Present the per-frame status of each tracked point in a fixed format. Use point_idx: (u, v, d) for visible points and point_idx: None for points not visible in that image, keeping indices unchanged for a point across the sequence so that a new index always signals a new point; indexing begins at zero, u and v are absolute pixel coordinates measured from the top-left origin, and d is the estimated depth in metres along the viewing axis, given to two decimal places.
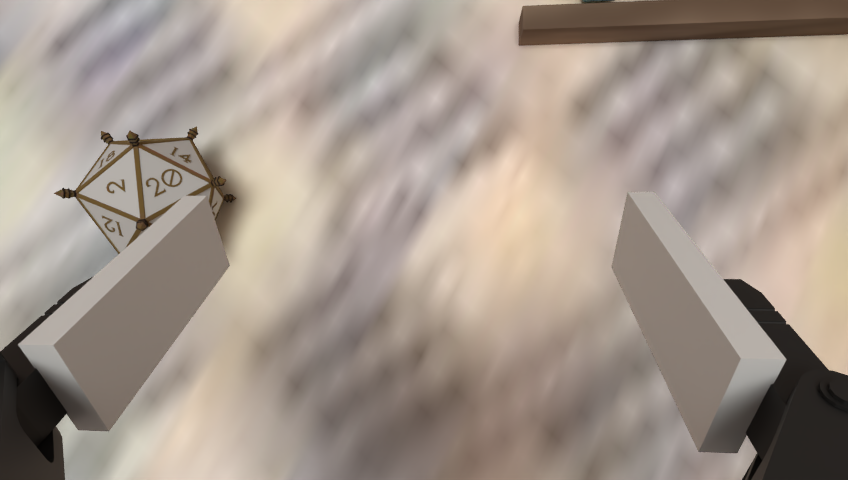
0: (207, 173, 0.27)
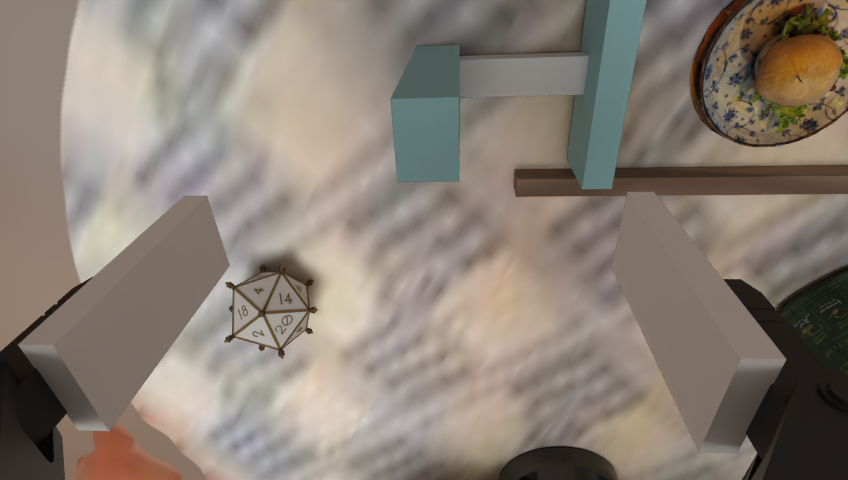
0: (303, 303, 0.41)
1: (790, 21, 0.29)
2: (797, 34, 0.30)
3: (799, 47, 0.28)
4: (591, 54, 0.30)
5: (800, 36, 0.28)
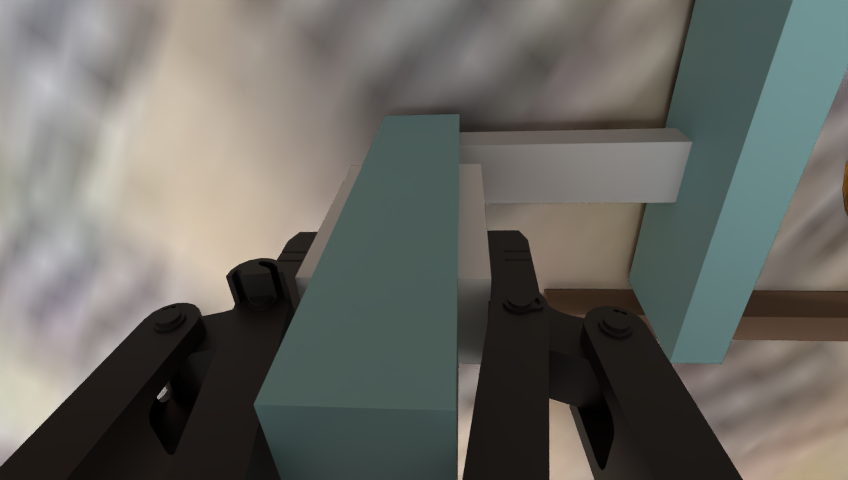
0: None
1: None
2: None
3: None
4: (701, 141, 0.16)
5: None
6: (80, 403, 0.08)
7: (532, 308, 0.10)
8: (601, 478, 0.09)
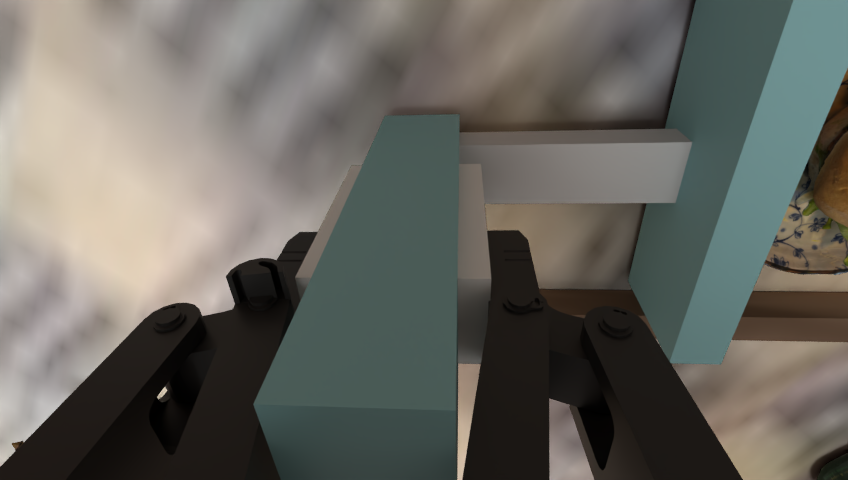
0: None
1: None
2: None
3: None
4: (701, 142, 0.16)
5: None
6: (80, 403, 0.08)
7: (532, 308, 0.10)
8: (601, 478, 0.09)
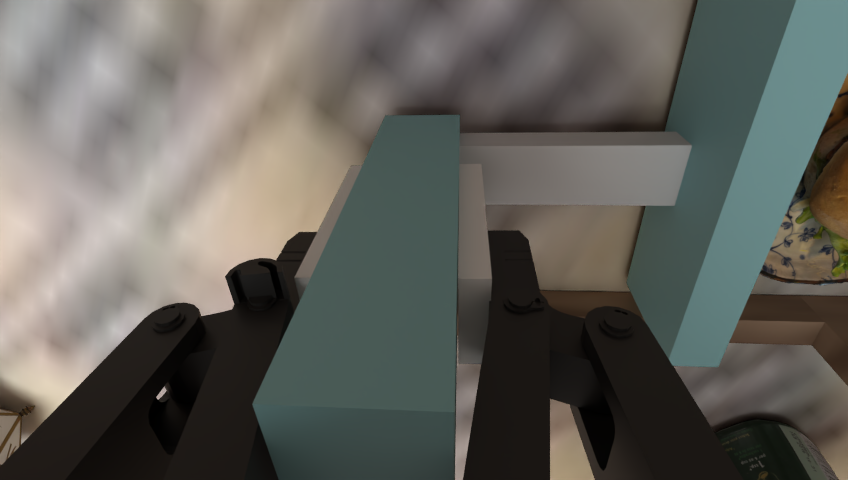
0: None
1: None
2: None
3: None
4: (701, 145, 0.16)
5: None
6: (79, 403, 0.08)
7: (533, 308, 0.10)
8: (601, 478, 0.09)
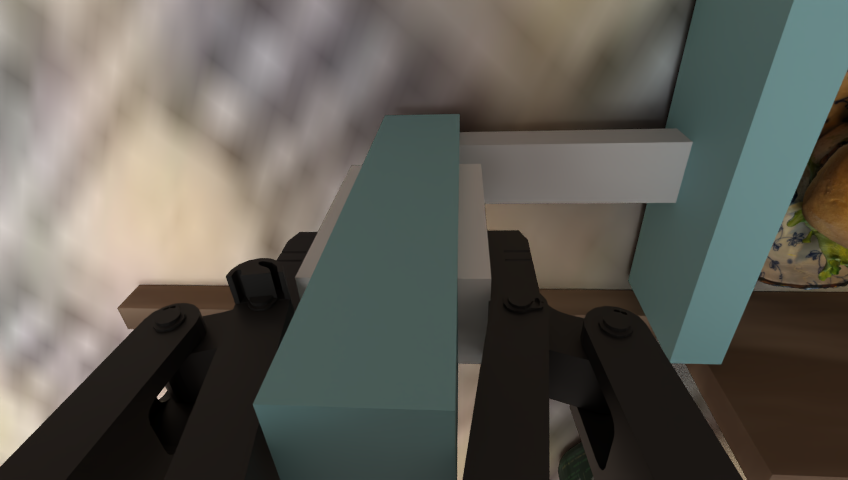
0: None
1: None
2: None
3: None
4: (702, 142, 0.16)
5: None
6: (80, 403, 0.08)
7: (532, 308, 0.10)
8: (601, 478, 0.09)
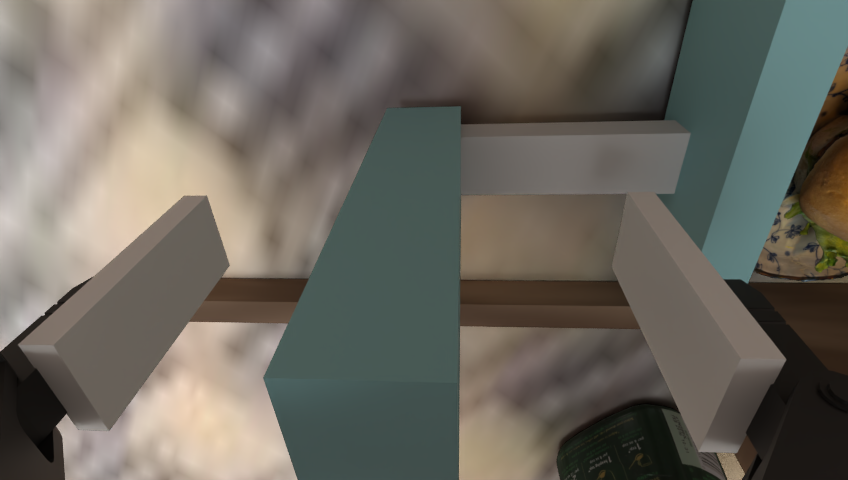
0: None
1: None
2: None
3: None
4: (700, 133, 0.16)
5: None
6: None
7: None
8: None
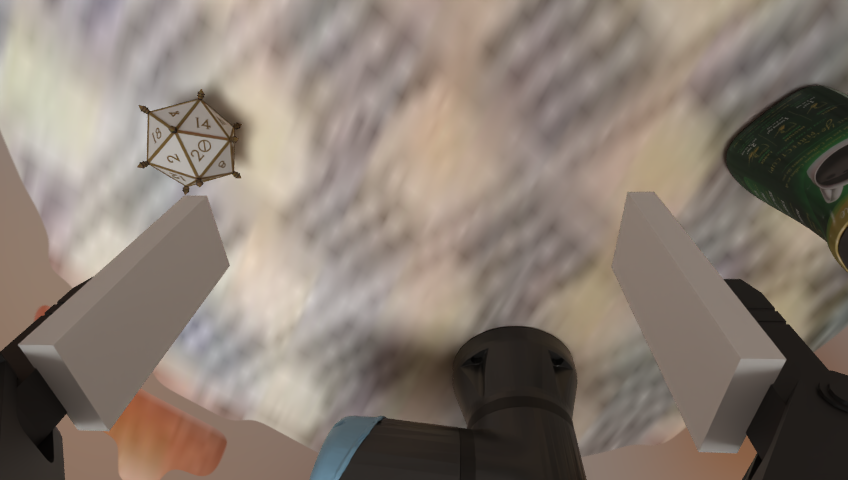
0: (223, 132, 0.39)
1: None
2: None
3: None
4: None
5: None
6: None
7: None
8: None
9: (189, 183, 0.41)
